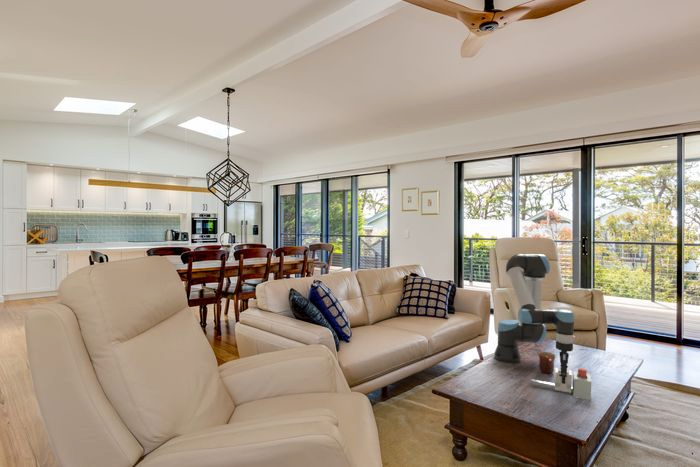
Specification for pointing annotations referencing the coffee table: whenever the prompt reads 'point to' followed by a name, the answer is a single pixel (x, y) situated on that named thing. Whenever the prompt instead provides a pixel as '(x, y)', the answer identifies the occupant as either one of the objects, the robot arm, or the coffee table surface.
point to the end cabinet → (582, 386)
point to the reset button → (582, 372)
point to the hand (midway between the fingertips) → (563, 384)
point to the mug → (546, 362)
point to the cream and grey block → (557, 380)
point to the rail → (546, 385)
